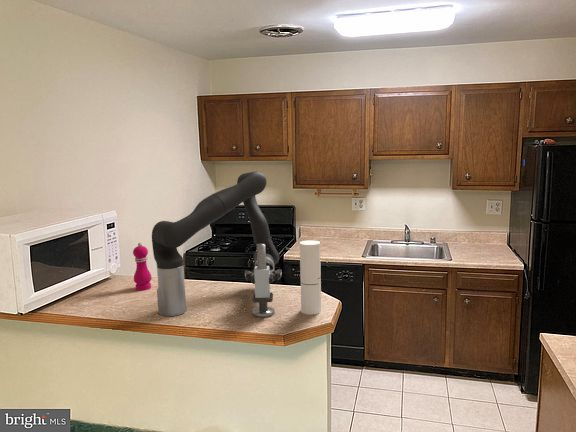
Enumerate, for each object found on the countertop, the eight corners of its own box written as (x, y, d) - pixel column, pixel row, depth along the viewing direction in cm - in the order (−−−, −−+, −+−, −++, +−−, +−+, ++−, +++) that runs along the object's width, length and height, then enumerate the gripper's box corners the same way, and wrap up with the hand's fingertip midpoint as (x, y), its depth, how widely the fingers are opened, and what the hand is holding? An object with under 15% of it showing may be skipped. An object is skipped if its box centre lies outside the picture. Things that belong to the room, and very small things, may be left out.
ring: (252, 303, 156) (252, 298, 155) (253, 296, 162) (253, 292, 162) (272, 302, 156) (272, 298, 155) (273, 296, 162) (273, 291, 162)
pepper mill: (148, 284, 197) (144, 239, 194) (155, 288, 192) (151, 242, 189) (132, 288, 193) (128, 242, 190) (138, 292, 187) (134, 245, 184)
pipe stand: (251, 317, 156) (248, 247, 152) (253, 309, 164) (250, 242, 160) (274, 317, 156) (272, 246, 152) (275, 308, 164) (272, 241, 160)
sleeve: (255, 297, 156) (254, 270, 155) (256, 293, 161) (255, 266, 160) (269, 297, 156) (268, 269, 155) (270, 292, 161) (269, 265, 160)
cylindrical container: (324, 309, 162) (323, 241, 158) (314, 316, 156) (313, 245, 152) (308, 306, 166) (306, 239, 162) (297, 312, 160) (295, 243, 156)
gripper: (245, 258, 171) (240, 271, 155) (282, 257, 171) (282, 270, 155) (245, 277, 173) (241, 292, 156) (283, 276, 173) (283, 291, 156)
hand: (261, 281), depth 155 cm, fingers closed on sleeve, 5 cm apart
